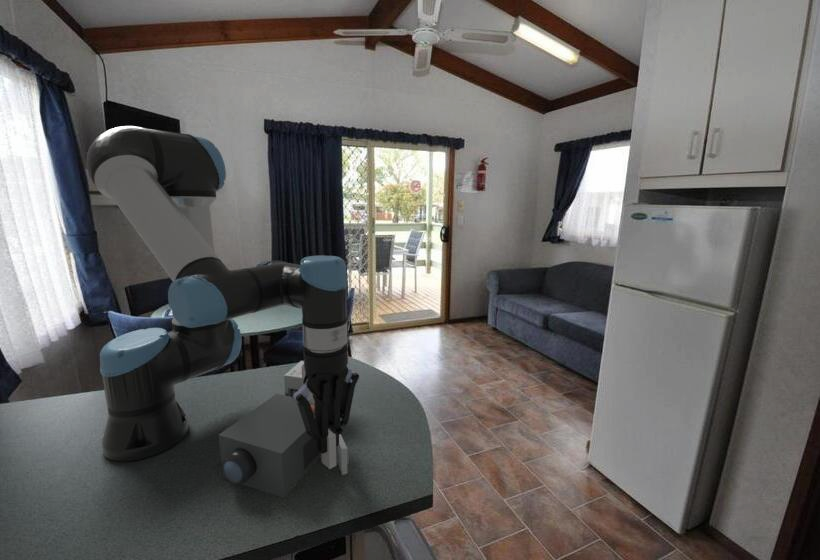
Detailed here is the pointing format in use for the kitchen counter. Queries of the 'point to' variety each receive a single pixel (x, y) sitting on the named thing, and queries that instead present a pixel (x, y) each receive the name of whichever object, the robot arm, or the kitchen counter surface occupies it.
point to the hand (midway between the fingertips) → (328, 463)
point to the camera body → (269, 447)
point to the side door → (342, 455)
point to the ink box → (295, 380)
